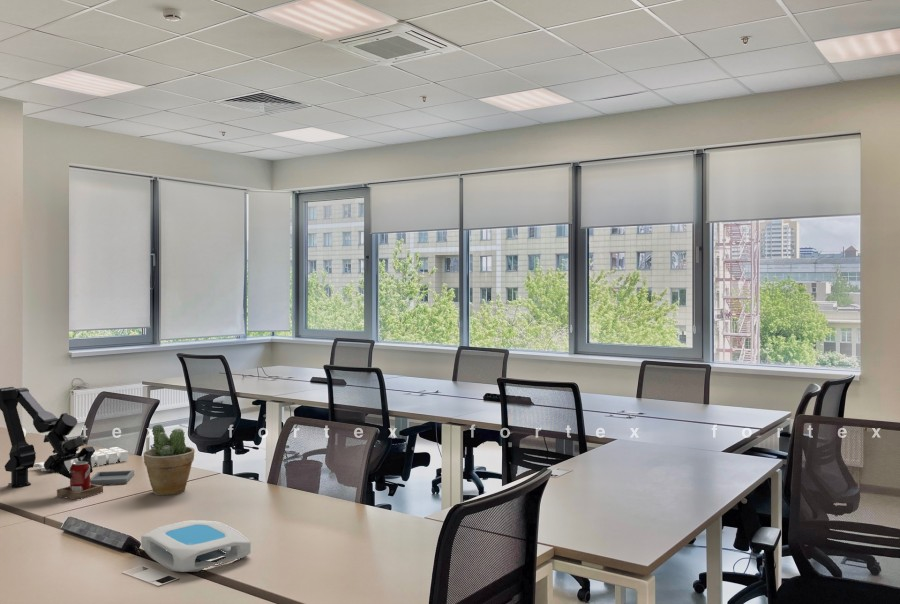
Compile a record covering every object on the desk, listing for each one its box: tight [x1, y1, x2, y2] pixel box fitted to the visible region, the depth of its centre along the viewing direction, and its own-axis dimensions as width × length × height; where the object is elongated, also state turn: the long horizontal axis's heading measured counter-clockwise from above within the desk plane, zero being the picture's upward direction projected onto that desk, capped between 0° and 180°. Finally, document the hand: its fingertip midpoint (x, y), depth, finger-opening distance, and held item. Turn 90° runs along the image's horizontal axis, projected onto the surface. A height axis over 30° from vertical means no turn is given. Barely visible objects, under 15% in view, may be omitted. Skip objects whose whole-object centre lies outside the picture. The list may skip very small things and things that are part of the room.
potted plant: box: [143, 424, 196, 496], centre depth 280 cm, size 18×19×25 cm
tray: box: [90, 469, 135, 486], centre depth 296 cm, size 14×14×2 cm
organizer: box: [33, 446, 129, 472], centre depth 321 cm, size 13×5×35 cm
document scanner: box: [140, 519, 252, 573], centre depth 214 cm, size 21×28×6 cm
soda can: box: [69, 461, 91, 492], centre depth 275 cm, size 7×7×12 cm
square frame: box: [56, 484, 104, 500], centre depth 275 cm, size 11×11×2 cm
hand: (81, 475), depth 275 cm, fingers open, 9 cm apart
